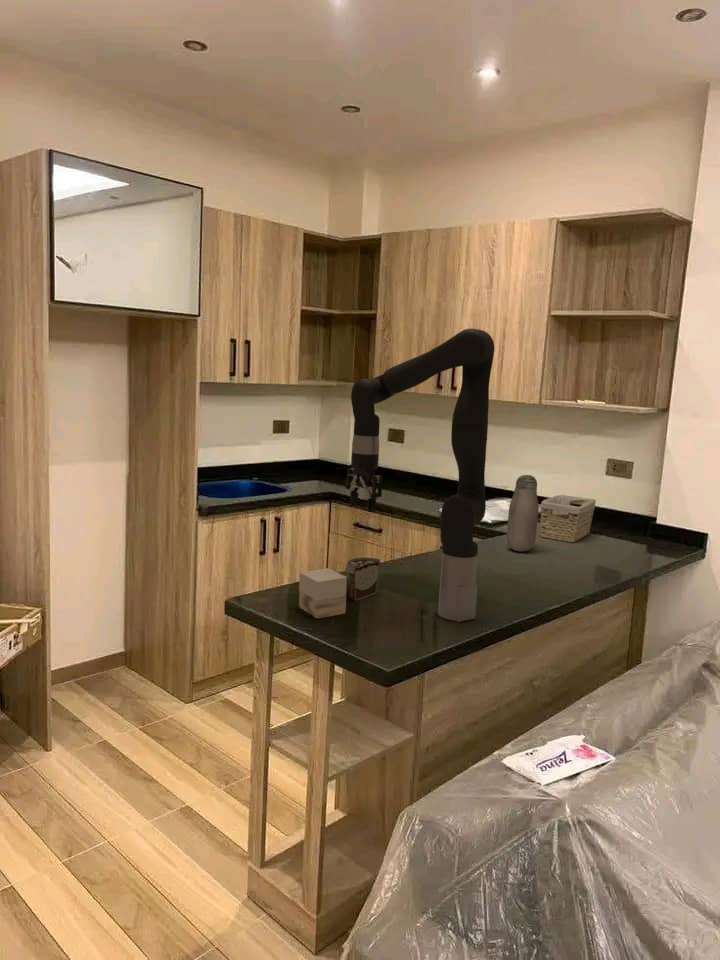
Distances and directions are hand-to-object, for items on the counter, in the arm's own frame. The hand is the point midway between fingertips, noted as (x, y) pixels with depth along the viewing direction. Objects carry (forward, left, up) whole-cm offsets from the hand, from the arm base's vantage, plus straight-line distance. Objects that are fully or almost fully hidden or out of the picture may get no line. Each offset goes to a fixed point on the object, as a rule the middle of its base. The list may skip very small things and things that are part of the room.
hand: (362, 508), depth 205 cm
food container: (0, 0, -25) cm, 25 cm away
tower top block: (-7, +16, -20) cm, 27 cm away
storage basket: (+24, -118, -25) cm, 123 cm away
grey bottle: (+15, -82, -25) cm, 87 cm away
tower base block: (-7, +16, -25) cm, 31 cm away
